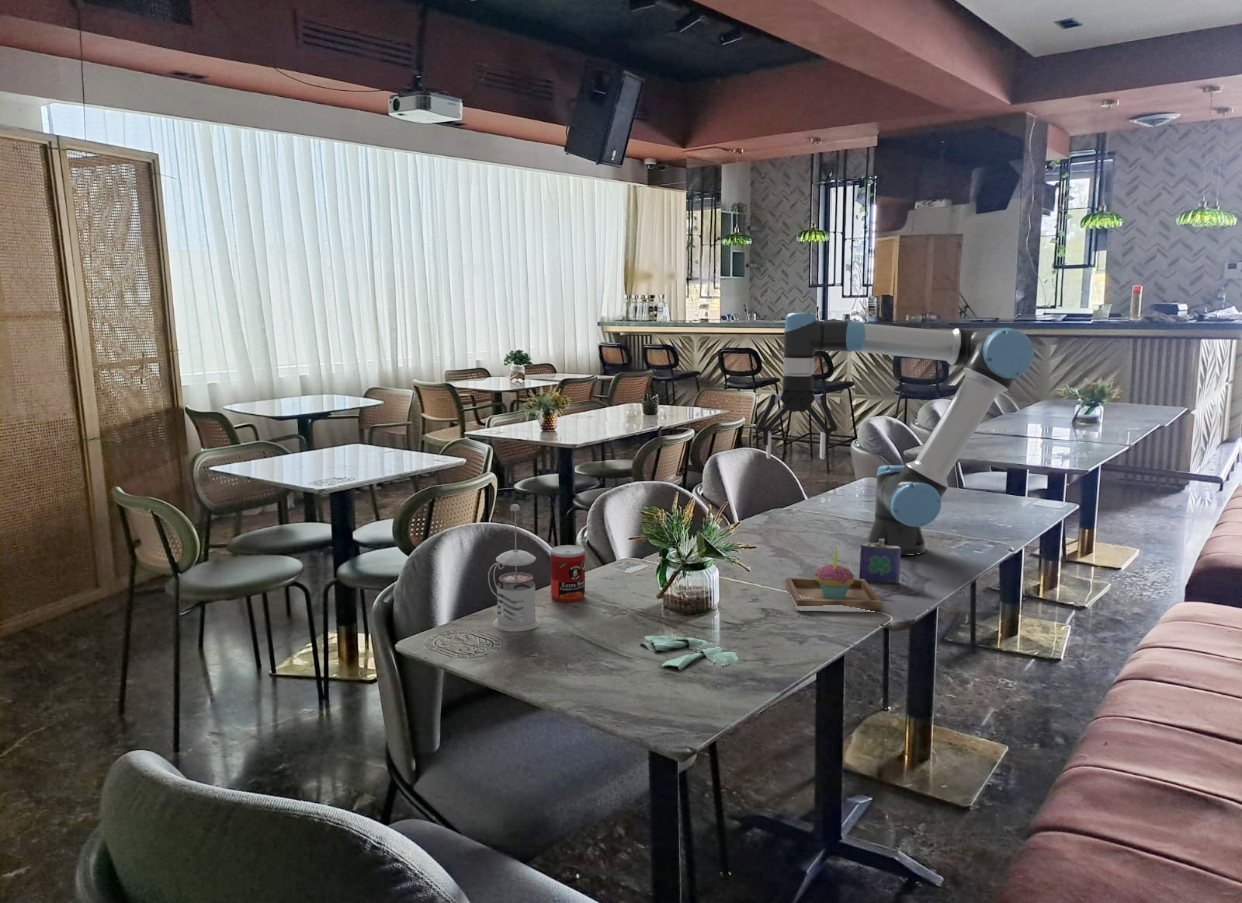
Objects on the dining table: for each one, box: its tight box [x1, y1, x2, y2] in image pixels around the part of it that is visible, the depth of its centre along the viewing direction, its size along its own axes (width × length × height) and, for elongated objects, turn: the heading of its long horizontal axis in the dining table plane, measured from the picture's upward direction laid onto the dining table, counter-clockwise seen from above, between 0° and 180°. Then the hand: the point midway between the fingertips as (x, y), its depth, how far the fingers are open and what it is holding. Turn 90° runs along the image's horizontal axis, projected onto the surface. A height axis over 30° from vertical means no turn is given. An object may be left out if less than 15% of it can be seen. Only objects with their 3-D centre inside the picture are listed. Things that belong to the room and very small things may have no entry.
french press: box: [487, 503, 541, 632], centre depth 177 cm, size 10×12×25 cm
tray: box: [785, 577, 883, 613], centre depth 194 cm, size 18×16×2 cm
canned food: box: [550, 544, 586, 603], centre depth 195 cm, size 8×8×11 cm
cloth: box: [638, 635, 738, 672], centre depth 163 cm, size 20×22×2 cm
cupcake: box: [814, 546, 855, 600], centre depth 193 cm, size 9×8×12 cm
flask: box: [858, 538, 902, 585], centre depth 207 cm, size 9×3×11 cm, turn 74°
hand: (795, 458), depth 222 cm, fingers open, 13 cm apart
